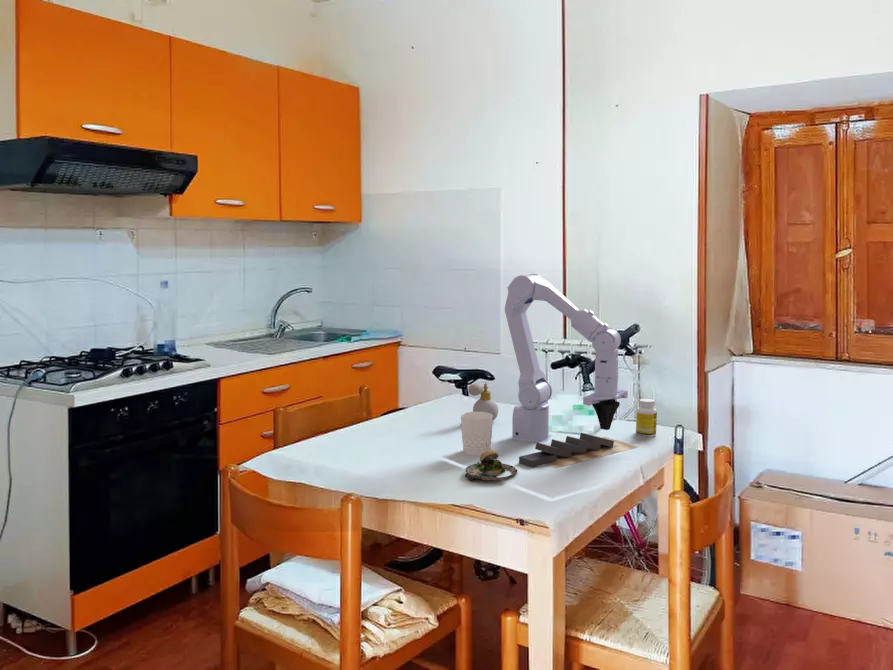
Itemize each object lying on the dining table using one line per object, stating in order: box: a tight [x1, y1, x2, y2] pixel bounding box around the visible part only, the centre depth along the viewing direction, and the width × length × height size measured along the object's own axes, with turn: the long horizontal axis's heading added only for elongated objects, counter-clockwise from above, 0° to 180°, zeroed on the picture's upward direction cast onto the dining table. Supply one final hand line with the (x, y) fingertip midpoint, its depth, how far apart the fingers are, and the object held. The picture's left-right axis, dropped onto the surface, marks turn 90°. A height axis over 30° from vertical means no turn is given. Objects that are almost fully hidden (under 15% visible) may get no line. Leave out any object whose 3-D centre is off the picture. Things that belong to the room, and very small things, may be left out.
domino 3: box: [550, 439, 587, 454], centre depth 191 cm, size 2×4×8 cm
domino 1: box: [518, 451, 556, 468], centre depth 185 cm, size 2×4×8 cm
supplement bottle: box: [635, 398, 658, 438], centre depth 211 cm, size 5×5×10 cm
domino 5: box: [578, 432, 614, 447], centre depth 197 cm, size 2×4×8 cm
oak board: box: [544, 436, 641, 469], centre depth 194 cm, size 30×12×1 cm, turn 127°
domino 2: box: [534, 442, 572, 458], centre depth 188 cm, size 2×4×8 cm
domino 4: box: [564, 435, 601, 451], centre depth 194 cm, size 2×4×8 cm
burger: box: [464, 444, 518, 482], centre depth 176 cm, size 12×12×8 cm
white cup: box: [460, 411, 493, 457], centre depth 194 cm, size 8×8×10 cm
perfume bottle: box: [467, 382, 499, 422], centre depth 226 cm, size 8×10×12 cm
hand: (605, 429), depth 198 cm, fingers closed
